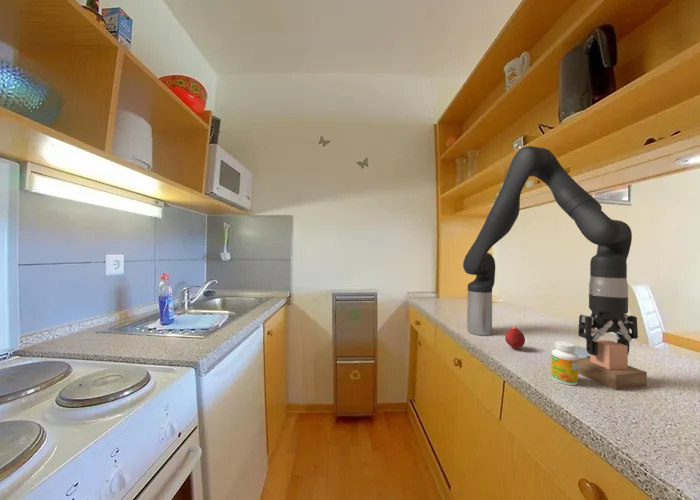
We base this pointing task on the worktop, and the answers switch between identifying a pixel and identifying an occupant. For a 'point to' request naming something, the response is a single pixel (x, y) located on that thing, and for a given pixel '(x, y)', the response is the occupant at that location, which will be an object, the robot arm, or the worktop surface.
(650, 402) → the worktop surface
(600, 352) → the terracotta block
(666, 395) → the worktop surface
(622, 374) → the walnut block
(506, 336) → the red oval lump
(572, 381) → the supplement bottle
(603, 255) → the robot arm
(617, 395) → the worktop surface
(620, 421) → the worktop surface
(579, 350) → the slate block
